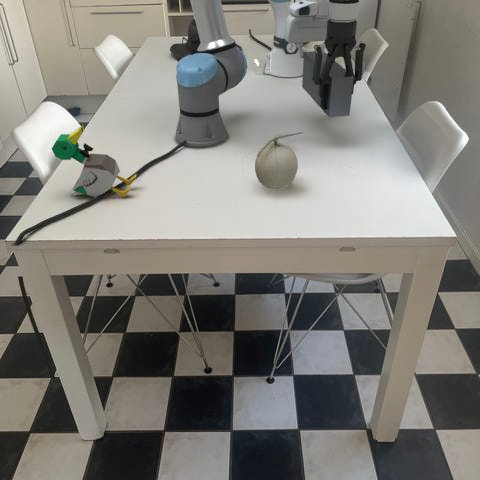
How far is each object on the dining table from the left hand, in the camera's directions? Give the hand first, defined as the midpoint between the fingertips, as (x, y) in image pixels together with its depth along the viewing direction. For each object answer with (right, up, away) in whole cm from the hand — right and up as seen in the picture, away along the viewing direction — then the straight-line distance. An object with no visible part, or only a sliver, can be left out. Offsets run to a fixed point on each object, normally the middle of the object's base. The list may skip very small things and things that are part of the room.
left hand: (334, 106), depth 144 cm
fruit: (-18, -24, -14) cm, 33 cm away
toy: (-61, -26, -15) cm, 68 cm away
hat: (-42, +47, +88) cm, 108 cm away
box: (-2, +4, +8) cm, 9 cm away
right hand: (-3, +17, +8) cm, 19 cm away
